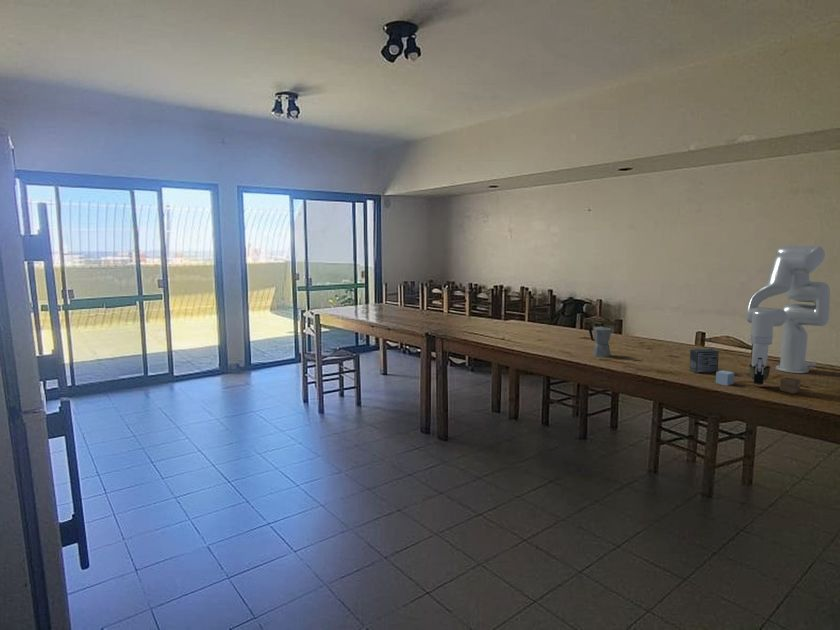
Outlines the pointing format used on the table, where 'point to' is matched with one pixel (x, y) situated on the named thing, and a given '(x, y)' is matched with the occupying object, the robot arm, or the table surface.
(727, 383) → the slate-blue cube
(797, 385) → the walnut cube
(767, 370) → the cup
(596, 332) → the coffeepot
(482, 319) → the table surface
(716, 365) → the small box
